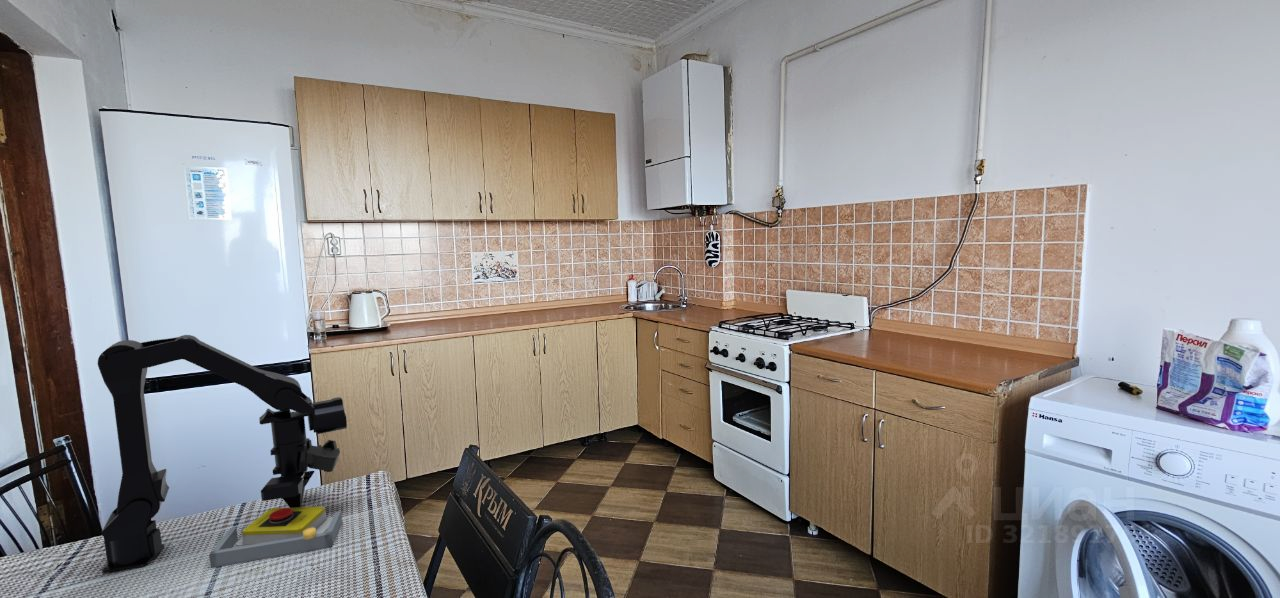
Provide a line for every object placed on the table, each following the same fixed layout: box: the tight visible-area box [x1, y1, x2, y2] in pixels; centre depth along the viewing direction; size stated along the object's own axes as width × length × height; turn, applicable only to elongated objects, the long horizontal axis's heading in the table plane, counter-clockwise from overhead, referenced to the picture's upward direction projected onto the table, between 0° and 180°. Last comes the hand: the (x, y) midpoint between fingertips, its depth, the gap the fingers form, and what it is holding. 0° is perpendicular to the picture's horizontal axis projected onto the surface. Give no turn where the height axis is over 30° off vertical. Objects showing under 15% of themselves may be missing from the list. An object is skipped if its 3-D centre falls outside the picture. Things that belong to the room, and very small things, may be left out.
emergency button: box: [234, 506, 334, 547], centre depth 107 cm, size 9×4×15 cm
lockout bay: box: [208, 510, 343, 568], centre depth 103 cm, size 19×10×4 cm, turn 107°
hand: (297, 511), depth 113 cm, fingers closed
